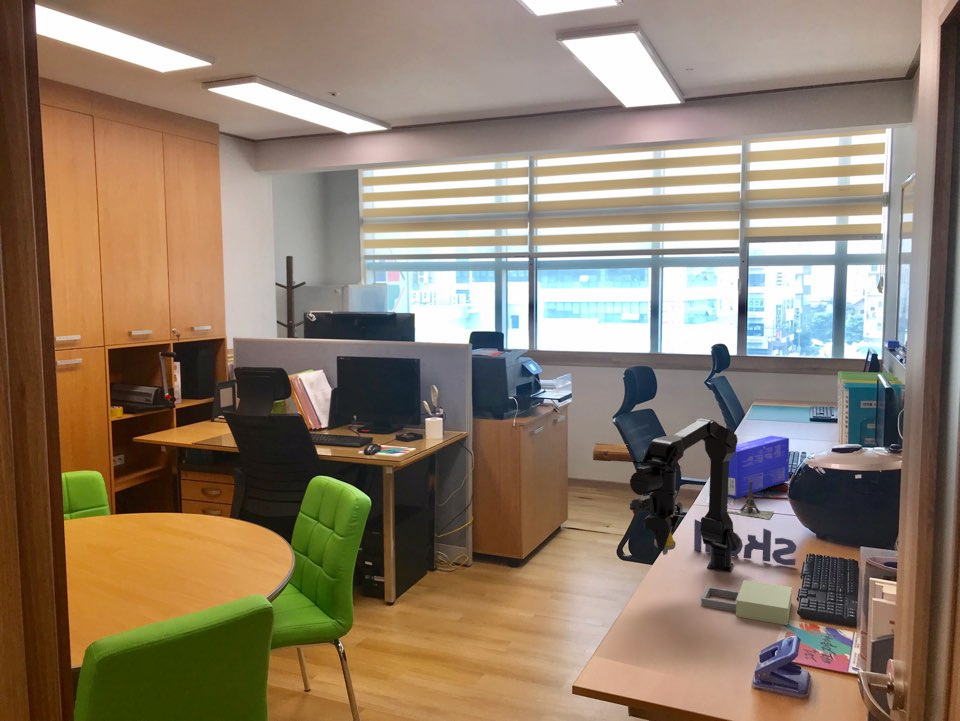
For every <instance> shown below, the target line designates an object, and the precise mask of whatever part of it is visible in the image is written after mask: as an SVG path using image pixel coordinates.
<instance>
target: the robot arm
mask: <svg viewBox="0 0 960 721" xmlns="http://www.w3.org/2000/svg"><path fill="white" fill-rule="evenodd" d="M700 441H703V442H704V450H705V452H706V454H707V456H708V458H709V459H710V460H709V461H710V463H709V467H710V470H709V491H708V492H709V493H708V494H709V497H708V511H707V513H706V514H705V515H704V516H702V517H701V518H700V522H701V528H700V531H701V535H702V543H703V545H705V544H707V545H710V553H709V562H708V565H707V566H706V569H707V570H712V571H720V572H727V573H732V571H733V568H734V566H735V565H734V563H733V562H732V556H731V551H736V550H737V548H739V544H740V540H739V539H738V537H737V536H736V534H735V533H736V532H735V531H734V522H733V520H732V518H731V516H730V515H729V514H730V513H728V512H729V511H728V505H729V504H728V502H729V501H728V500H729V497H728V480H729V461H730V459H731V458H732V456H733V455H734V454H735V452H736V445H737V444H738V436H737V434H736V433H735V432H734V431H733V430H731V429H729V428H727V427H724V426H723V425H720V424H719V423H718V422H717V421H715V420H714V419H709V418H697V419H696V420H695V422H693V423H691V424H690V425H688V426H687V427H684V428H683V429H681V430H679V431H677V432H675V433H674V434H673V435H666V436H660V437H657V438H654V439H653V440H651V441H650V442H649V443H650V444H649V445H648V448H647V450H646V453H644V459H643V461H642V463H640V464H641V466H637V467H636V472H634V473H633V474H631V477H630V480H629V484H630V485H629V486H630V488H631V490H632V491H633V493H635V494H636V495H638V496H640V497H635V498H633V499H632V500H631V501H630V502H629V510H630V511H632V512H633V513H632V514H633V515H638V514H639V513H640V514H641V513H644V512H647V511H648V513H649V515H647V516H645V519H643V529H647V530H651V532H653V534H654V537H655V538H654V540H655V539H656V542H657V546H658V548H657V549H658V551H661V552H663V549H664V547H665V545H666V542H667V539H668V537H669V534H670V532H671V534H672V535H673V533H674V530H675V528H676V526H677V524H678V522H679V519H680V517H681V516H680V515H681V514H682V513H683V508H684V507H683V504H682V503H681V502H680V501H678V500H676V497H677V496H678V490H676V486H677V485H676V482H677V481H676V480H677V478H676V476H677V473H676V472H677V471H678V470H680V469H682V468H681V465H679V464H678V462H679V461H680V460H681V459H682V458H684V453H685V451H686V450H688V449H689V448H691V447H692V446H694V445H695V444H697V443H698V442H700ZM646 494H649V495H646ZM643 495H644V496H643ZM676 513H677V515H676Z"/></svg>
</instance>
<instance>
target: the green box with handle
mask: <svg viewBox="0 0 960 721" xmlns="http://www.w3.org/2000/svg"><path fill="white" fill-rule="evenodd" d="M704 590H705V591H704V592H703V595H702V596H701V599H700V605H701V606H703V607H708V608H713V609H719V610H725V611H729V612H735V617H738V618H742V619H743V618H745V619H750V620H754V621H755V620H757V621H761V622H766V623H773V624H779V625H784V626H788V624H789V618H790V612H791V607H792V601H793V600H792V598H793V597H792V596H793V595H792V594H793V593H792V592H793V587H791V586H785V585H780V584H772V583H766V582H759V581H753V580H746V579H743V582H742V584H741V585H740V590H738V591H737V590H732V589H731V590H730V589H725V588H718V587H713V586H706V588H705V589H704ZM710 596H715V597H721V598H727V599H733V600H735V601H734V602H731V601H727V600H726V601H725V600H719V599H713V598H710Z"/></svg>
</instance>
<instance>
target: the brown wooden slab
mask: <svg viewBox="0 0 960 721" xmlns="http://www.w3.org/2000/svg"><path fill="white" fill-rule="evenodd" d="M626 445H627V444H620V443H618V444H615V443H595V444H594V447H593V451H592V460H593V461H598V462H599V461H600V462H601V461H602V462H622V463H623V462H625V463H634V462H633V461H632V458H631V456H630V454H629V451H628V449H627V447H626Z"/></svg>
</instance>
